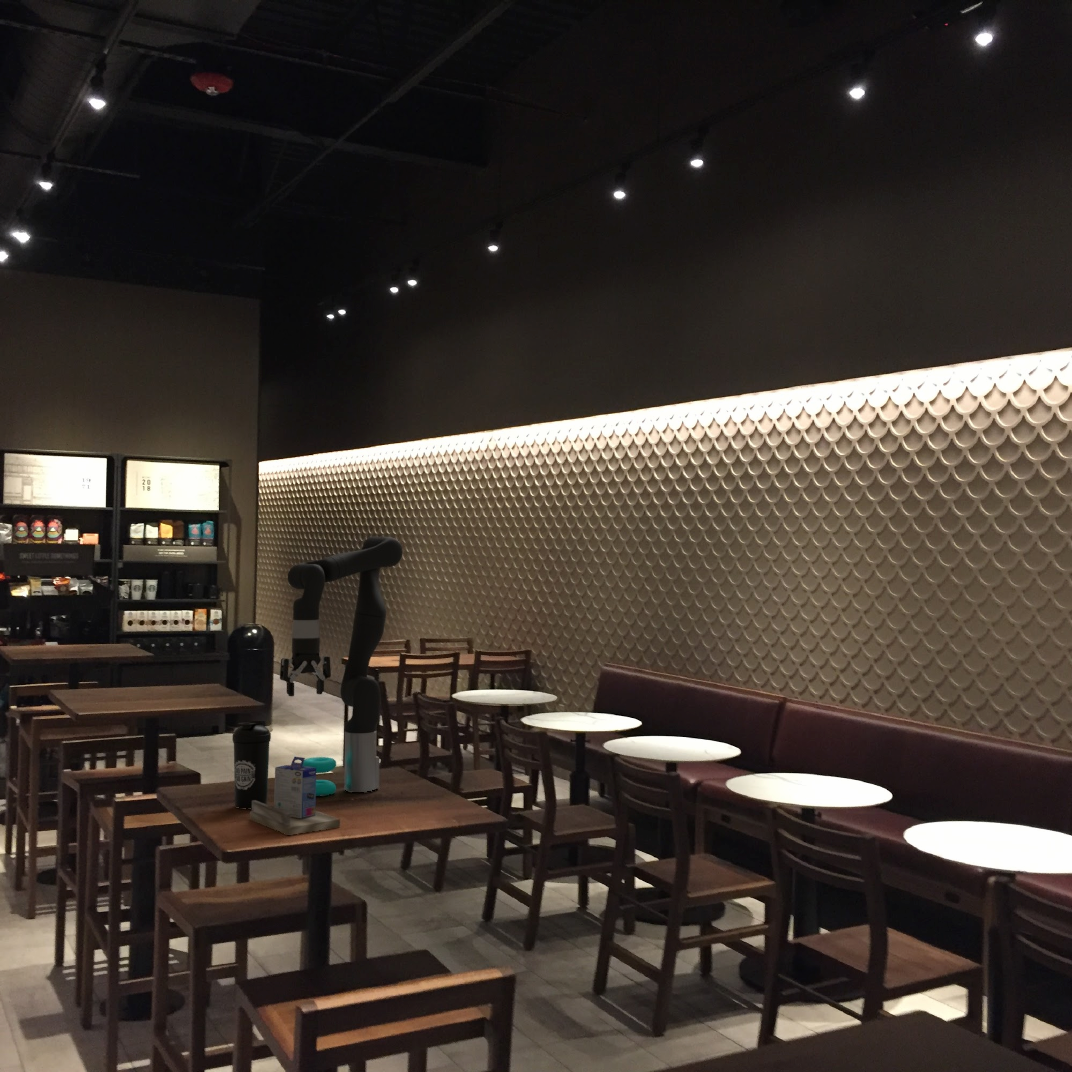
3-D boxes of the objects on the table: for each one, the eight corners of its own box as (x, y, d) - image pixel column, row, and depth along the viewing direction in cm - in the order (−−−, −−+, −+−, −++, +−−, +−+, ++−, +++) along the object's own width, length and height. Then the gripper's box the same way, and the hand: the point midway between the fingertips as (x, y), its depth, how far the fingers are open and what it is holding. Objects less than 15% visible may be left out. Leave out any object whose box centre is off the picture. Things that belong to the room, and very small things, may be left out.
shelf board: (299, 812, 286) (299, 793, 286) (339, 827, 268) (339, 807, 269) (248, 819, 277) (249, 800, 277) (287, 836, 259) (287, 815, 260)
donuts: (340, 760, 307) (305, 763, 303) (339, 795, 307) (305, 798, 302) (331, 755, 316) (297, 757, 312) (331, 789, 316) (297, 792, 311)
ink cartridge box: (317, 815, 273) (317, 758, 273) (302, 819, 268) (302, 761, 269) (288, 810, 278) (288, 754, 278) (272, 815, 273) (273, 758, 274)
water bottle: (224, 808, 289) (225, 723, 290) (245, 801, 299) (246, 718, 300) (257, 811, 286) (258, 724, 287) (277, 803, 296) (278, 719, 297)
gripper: (288, 637, 288) (287, 698, 288) (335, 635, 297) (335, 694, 297) (276, 636, 294) (275, 695, 294) (322, 634, 303) (322, 692, 303)
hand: (305, 695), depth 295 cm, fingers open, 8 cm apart
